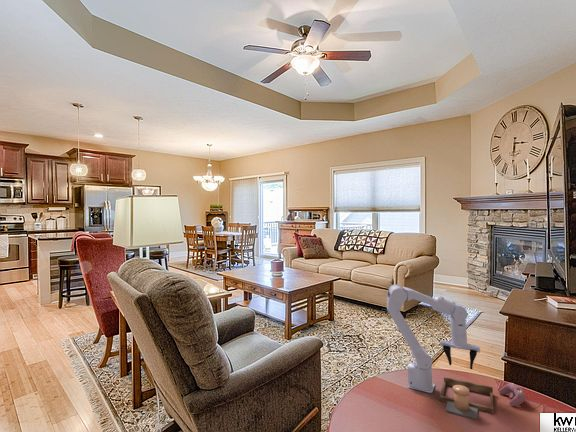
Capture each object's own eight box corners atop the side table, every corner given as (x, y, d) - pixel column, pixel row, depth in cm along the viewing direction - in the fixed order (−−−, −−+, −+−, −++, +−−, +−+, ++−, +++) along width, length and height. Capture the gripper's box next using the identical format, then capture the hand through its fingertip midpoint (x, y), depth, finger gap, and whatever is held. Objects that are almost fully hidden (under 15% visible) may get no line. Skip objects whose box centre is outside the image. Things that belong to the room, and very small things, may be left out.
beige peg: (452, 409, 114) (451, 389, 114) (454, 401, 118) (453, 383, 118) (469, 413, 111) (468, 393, 111) (471, 406, 115) (469, 387, 115)
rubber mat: (445, 411, 113) (445, 409, 113) (447, 402, 119) (447, 400, 119) (477, 420, 108) (477, 418, 108) (477, 409, 114) (477, 408, 114)
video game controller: (522, 412, 114) (530, 395, 114) (509, 405, 115) (518, 389, 115) (508, 397, 124) (516, 382, 123) (497, 391, 125) (504, 376, 124)
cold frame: (439, 400, 121) (439, 392, 121) (444, 383, 133) (443, 376, 133) (493, 413, 111) (492, 404, 111) (493, 394, 124) (492, 386, 124)
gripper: (438, 333, 130) (440, 366, 129) (478, 339, 122) (480, 374, 121) (440, 328, 136) (442, 359, 135) (479, 333, 128) (481, 367, 127)
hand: (460, 366), depth 129 cm, fingers open, 7 cm apart
